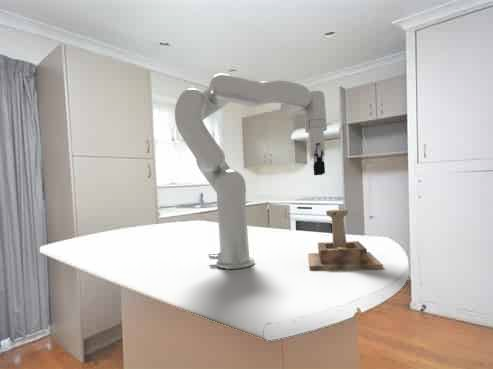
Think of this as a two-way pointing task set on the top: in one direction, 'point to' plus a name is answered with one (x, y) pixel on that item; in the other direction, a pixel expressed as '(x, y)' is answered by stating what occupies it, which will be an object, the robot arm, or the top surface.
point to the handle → (338, 227)
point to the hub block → (342, 257)
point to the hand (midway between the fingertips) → (319, 174)
